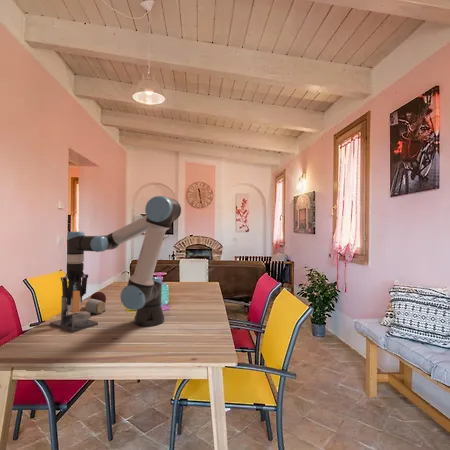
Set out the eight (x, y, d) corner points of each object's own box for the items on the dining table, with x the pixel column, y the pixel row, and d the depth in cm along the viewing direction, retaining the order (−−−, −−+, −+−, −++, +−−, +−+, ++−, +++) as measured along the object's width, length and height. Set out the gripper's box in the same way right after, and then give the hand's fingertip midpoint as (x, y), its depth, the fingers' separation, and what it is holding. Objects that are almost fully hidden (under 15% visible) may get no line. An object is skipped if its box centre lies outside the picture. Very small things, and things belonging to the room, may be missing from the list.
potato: (86, 310, 175) (87, 294, 176) (94, 304, 187) (94, 289, 187) (102, 310, 176) (102, 294, 176) (108, 304, 188) (108, 289, 188)
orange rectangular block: (75, 310, 152) (75, 290, 152) (79, 311, 150) (79, 290, 150) (68, 311, 149) (69, 291, 149) (73, 312, 147) (73, 292, 147)
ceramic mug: (96, 315, 165) (97, 301, 165) (84, 314, 168) (85, 300, 168) (109, 311, 175) (110, 297, 175) (98, 309, 178) (98, 296, 178)
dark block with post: (98, 324, 150) (98, 298, 150) (73, 332, 139) (73, 303, 139) (74, 318, 160) (75, 293, 160) (49, 324, 149) (50, 298, 149)
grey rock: (94, 323, 148) (95, 311, 148) (79, 328, 141) (80, 315, 141) (87, 321, 151) (87, 309, 151) (72, 326, 144) (72, 313, 144)
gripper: (85, 260, 159) (84, 305, 158) (54, 263, 144) (53, 313, 144) (94, 261, 155) (93, 307, 155) (63, 265, 141) (62, 315, 140)
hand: (74, 310), depth 149 cm, fingers closed on orange rectangular block, 3 cm apart
